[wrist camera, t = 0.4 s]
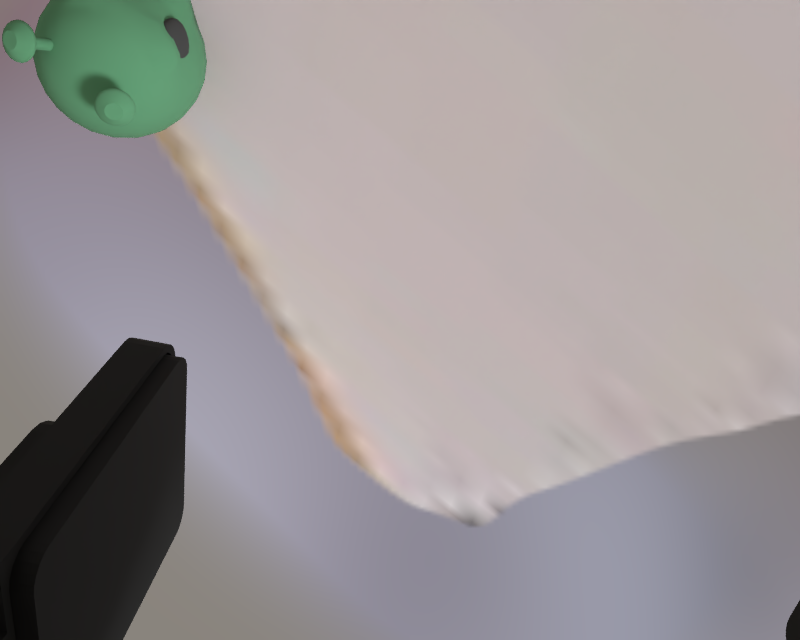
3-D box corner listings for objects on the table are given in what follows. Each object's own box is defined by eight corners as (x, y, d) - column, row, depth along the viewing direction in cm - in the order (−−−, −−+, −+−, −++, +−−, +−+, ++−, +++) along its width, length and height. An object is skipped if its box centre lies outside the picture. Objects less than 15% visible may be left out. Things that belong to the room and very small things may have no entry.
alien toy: (261, 19, 36) (191, 45, 28) (187, 142, 40) (103, 201, 31) (137, -78, 35) (20, -83, 26) (70, 58, 38) (-53, 95, 29)
